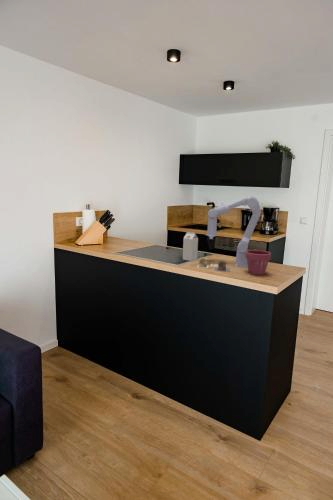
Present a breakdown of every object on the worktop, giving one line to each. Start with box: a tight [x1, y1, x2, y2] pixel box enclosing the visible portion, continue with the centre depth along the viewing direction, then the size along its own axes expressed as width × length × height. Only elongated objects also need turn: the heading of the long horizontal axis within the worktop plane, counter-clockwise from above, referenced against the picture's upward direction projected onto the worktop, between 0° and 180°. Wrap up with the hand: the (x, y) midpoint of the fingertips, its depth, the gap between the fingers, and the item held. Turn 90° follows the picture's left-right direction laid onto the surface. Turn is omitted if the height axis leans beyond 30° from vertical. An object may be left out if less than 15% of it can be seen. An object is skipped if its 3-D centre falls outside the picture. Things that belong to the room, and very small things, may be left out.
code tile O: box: [196, 264, 210, 269], centre depth 213 cm, size 7×7×1 cm
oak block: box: [198, 257, 208, 268], centre depth 212 cm, size 4×4×5 cm
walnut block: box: [218, 259, 227, 270], centre depth 206 cm, size 4×4×5 cm
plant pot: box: [245, 249, 272, 276], centre depth 200 cm, size 14×14×13 cm
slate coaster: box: [214, 267, 231, 273], centre depth 206 cm, size 9×9×1 cm
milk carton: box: [182, 231, 199, 262], centre depth 230 cm, size 7×7×19 cm
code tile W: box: [210, 263, 218, 268], centre depth 216 cm, size 7×7×1 cm
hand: (211, 248), depth 222 cm, fingers open, 7 cm apart
